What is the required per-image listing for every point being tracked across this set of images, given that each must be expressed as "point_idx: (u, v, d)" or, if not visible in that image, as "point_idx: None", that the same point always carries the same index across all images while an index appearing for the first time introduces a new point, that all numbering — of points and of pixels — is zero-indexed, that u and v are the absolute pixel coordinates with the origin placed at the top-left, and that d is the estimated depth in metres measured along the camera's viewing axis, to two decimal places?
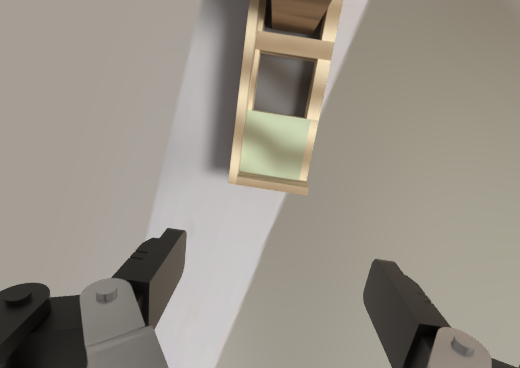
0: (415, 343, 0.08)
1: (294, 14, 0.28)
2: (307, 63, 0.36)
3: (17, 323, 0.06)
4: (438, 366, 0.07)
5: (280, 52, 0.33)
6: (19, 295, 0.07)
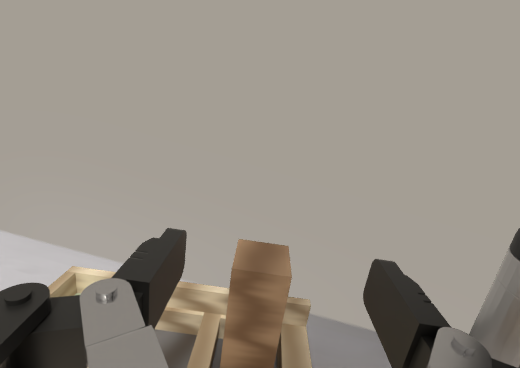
0: (415, 343, 0.08)
1: None
2: None
3: (17, 323, 0.06)
4: (438, 366, 0.07)
5: (198, 333, 0.30)
6: (19, 295, 0.07)
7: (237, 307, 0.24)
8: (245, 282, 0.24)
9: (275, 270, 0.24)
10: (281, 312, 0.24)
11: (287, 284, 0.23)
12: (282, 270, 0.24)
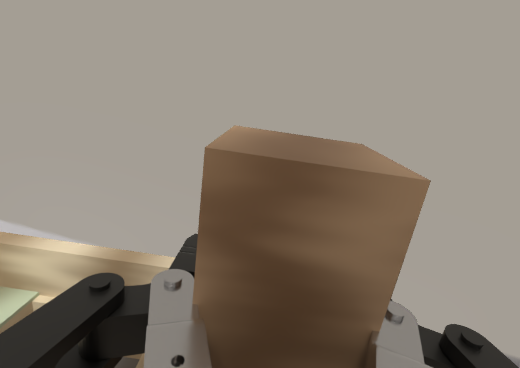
0: None
1: None
2: None
3: (105, 307, 0.07)
4: (379, 340, 0.07)
5: (140, 363, 0.13)
6: (100, 282, 0.07)
7: (227, 298, 0.07)
8: (254, 204, 0.06)
9: (362, 165, 0.07)
10: (374, 314, 0.07)
11: (409, 212, 0.06)
12: (385, 168, 0.07)
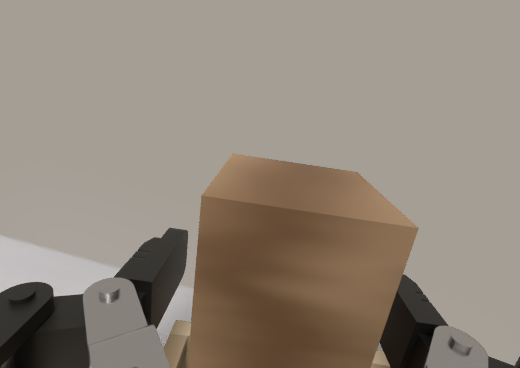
0: (412, 342, 0.08)
1: None
2: None
3: (21, 322, 0.06)
4: (435, 365, 0.07)
5: None
6: (23, 293, 0.07)
7: (223, 334, 0.08)
8: (249, 248, 0.07)
9: (353, 209, 0.07)
10: (366, 350, 0.07)
11: (398, 256, 0.07)
12: (376, 211, 0.07)
